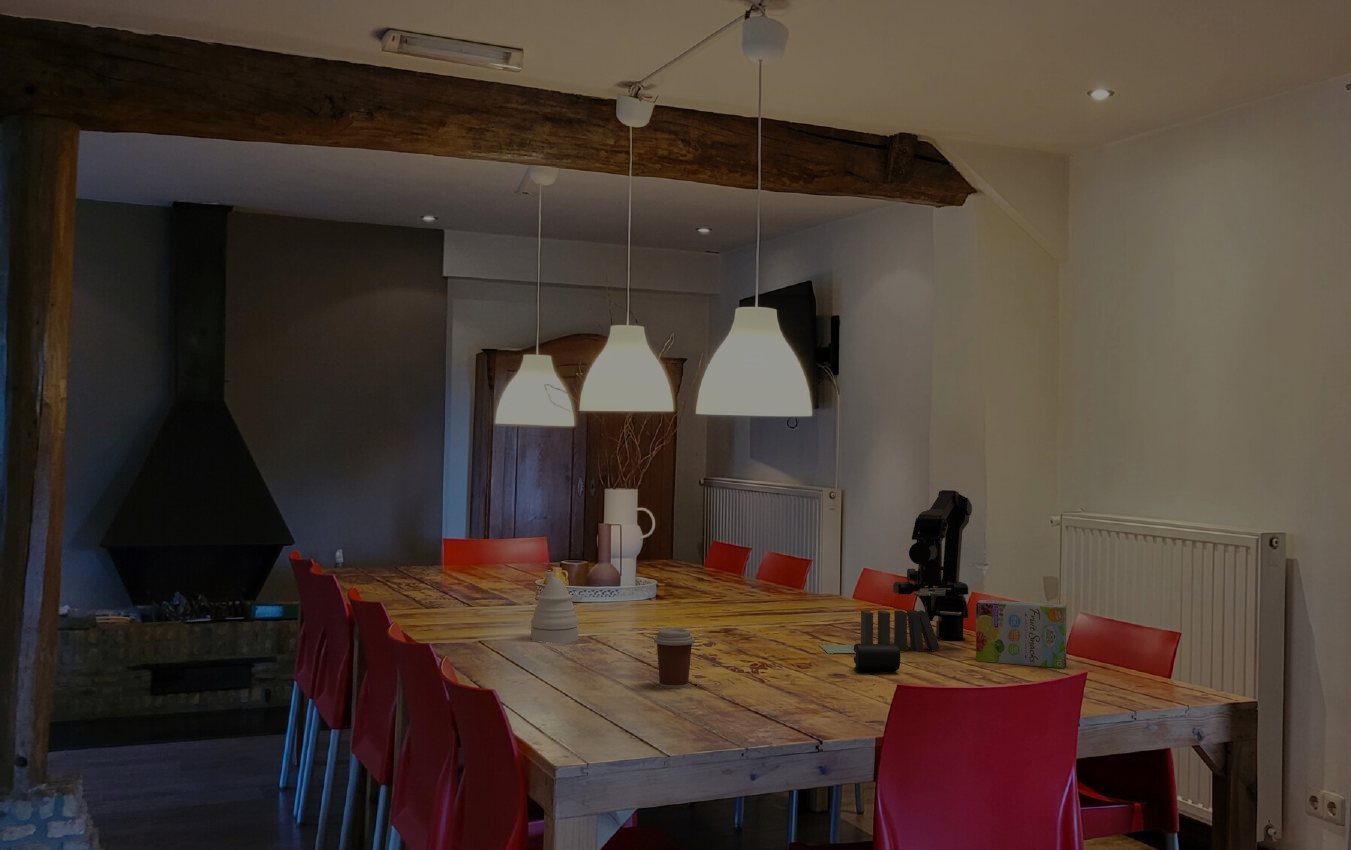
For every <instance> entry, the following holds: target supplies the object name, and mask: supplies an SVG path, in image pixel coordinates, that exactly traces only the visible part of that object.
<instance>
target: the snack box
mask: <svg viewBox="0 0 1351 850" xmlns="http://www.w3.org/2000/svg"><path fill="white" fill-rule="evenodd" d="M975 608H976V609H975V661H976V662H981V663H983V662H984V663H985V662H986V663H994V664H1005V665H1020V666H1030V667H1044V668H1054V669H1055V668H1058V669H1065V667H1066V666H1067V604H1056V603H1055V604H1054V603H1039V602H1037V603H1036V602H1028V601H1027V602H1026V601H1025V602H1024V601H1007V600H1006V601H1004V600H1002V601H1001V600H988V599H986V600H984V599H980V600H978V601H976V604H975Z"/></svg>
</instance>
